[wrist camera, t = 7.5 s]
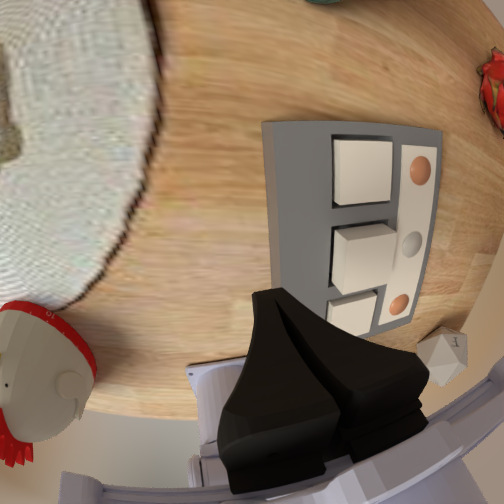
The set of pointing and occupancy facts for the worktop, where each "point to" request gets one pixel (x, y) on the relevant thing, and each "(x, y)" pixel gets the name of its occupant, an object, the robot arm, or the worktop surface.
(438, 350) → the die
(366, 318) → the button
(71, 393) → the kitchen timer
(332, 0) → the beverage bottle
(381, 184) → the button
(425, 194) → the button board
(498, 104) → the dragon fruit
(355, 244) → the middle button
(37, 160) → the worktop surface
